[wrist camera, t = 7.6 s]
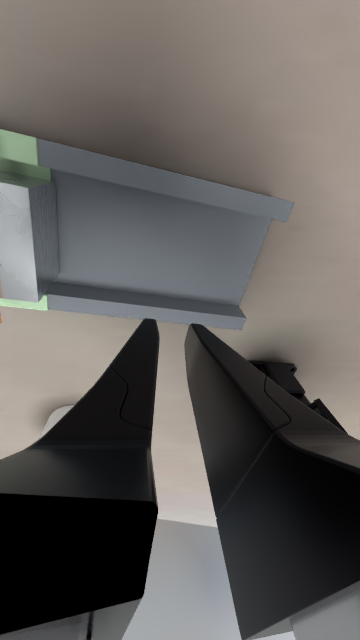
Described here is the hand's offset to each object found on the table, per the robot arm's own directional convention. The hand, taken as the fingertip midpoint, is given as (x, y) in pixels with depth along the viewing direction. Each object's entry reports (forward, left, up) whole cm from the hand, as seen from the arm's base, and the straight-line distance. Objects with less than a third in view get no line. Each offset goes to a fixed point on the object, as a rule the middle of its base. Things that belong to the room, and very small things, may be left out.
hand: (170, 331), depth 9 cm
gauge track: (0, +3, -12) cm, 12 cm away
